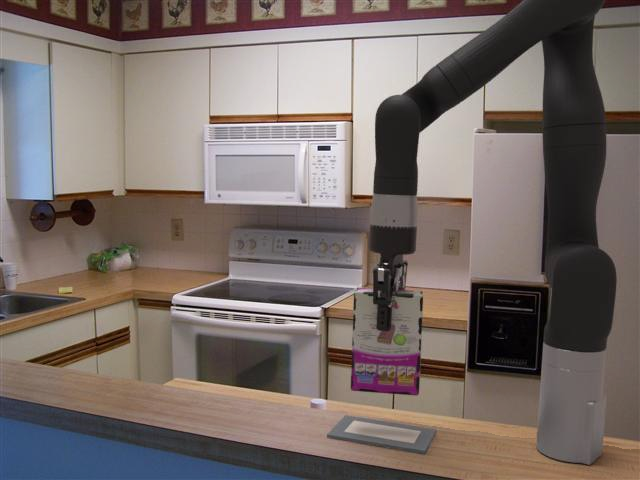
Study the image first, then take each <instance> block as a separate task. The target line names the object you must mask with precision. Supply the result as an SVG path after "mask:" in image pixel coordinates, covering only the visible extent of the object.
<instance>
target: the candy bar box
mask: <svg viewBox="0 0 640 480" xmlns="http://www.w3.org/2000/svg"><path fill="white" fill-rule="evenodd" d="M423 293H424V292H423V290H408V289H405V290H398V292H397V294H395V295H394V299H393V306H392V320H391V329H390V330H389V331H379V330H377V308H378V307H376V305H375V304H373V287H372V288H369V287H368V288H367V287H357V288H356V289H355V291H354V293H353V307H352V309H353V314H352V315H353V316H352V343H351V369H350V370H351V371H350V373H351V374H350V390H351V391H354V392H361V393H363V392H365V393H376V394H378V393H379V394H389V395H390V394H391V395H403V396H405V395H406V396H415V397H417V396H419V395H420V382H421V381H420V380H421V359H422V338H423V337H422V335H423V334H422V333H423V309H424V308H423V307H424V294H423ZM381 297H384V298H386V293H382V295H381Z"/></svg>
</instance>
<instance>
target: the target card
mask: <svg viewBox="0 0 640 480" xmlns="http://www.w3.org/2000/svg"><path fill="white" fill-rule="evenodd" d="M436 433H437V429H435V428H428V427H424V426H417V425H416V426H415V425H411V424H405V423H404V424H403V423H398V422H392V421H391V422H390V421H385V420H380V419H372V418H368V417H367V418H365V417H360V416H352V415H346V414H345V415H344V416H343V417H342V418H341V419H340V420H339V421H338V422H337V423H336V424H335V426H333V428H332V429H331V430H330V431H329V432H327V434H326V438H328V439H334V440H339V441H340V440H341V441H346V442H352V443H358V444H362V443H363V445H368V444H370V446H374V445H377V446H376V447H380V446H383V447H382V448H386V447H389V448H388V449H392V448H394V449H393V450H397V449H401V450H400V451H403V450H407V451H406V452H409V451H410V452H409V453H417V454H422V455H426V453H427V451H428V449H429V448H428V447H430V445H431V444H430V443H432V442H433V440H434V437H435V436H436Z"/></svg>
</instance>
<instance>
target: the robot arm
mask: <svg viewBox="0 0 640 480" xmlns="http://www.w3.org/2000/svg"><path fill="white" fill-rule="evenodd" d="M605 2H607V0H522V1H520V3H518V4H517V5H516V6H515V7H514V8H513V9H512V10H510V11H509V12H508V13H506V14H505V15H504V16H502V17H501V18H500V19H499V20H497V21H496V22H495V23H494V24H492V25H490V27H487V28H486V29H485V30H484V31H482V32H481V33H479V34H477V36H474V37H473V38H472V39H470V40H469V41H468V42H466V43H464V44H463V45H462V46H461V47H459V48H458V49H456V50H454V52H452V53H451V54H449V55H448V56H446V57H445V58H444V59H442V60H440V61H439V62H438V63H437V64H435V65H434V66H432V67H431V68H430V69H429V70H428V71H427V72H425V73H424V75H423V76H422V77H421V79H420V80H419V81H418V82H417V83H415V84H414V85H413V86H412V87H409V88H408V89H407V90H406V91H405V92H402V94H395V95H394V94H393V95H390V96H388V97H386V98H385V99H384V100H382V102H380V104H379V106H378V107H377V109H376V111H375V117H374V118H375V119H374V147H375V149H374V150H375V151H374V152H375V165H374V171H373V184H372V185H373V186H372V187H373V190H372V200H371V205H370V214H369V215H370V218H369V219H370V220H369V236H368V237H369V239H368V250H369V251H370V252H371V253H375V254H379V255H380V256H379V257H380V258H379V263H378V264H377V265H376V267H373V270H372V285H373V286H372V289H373V304H375V305H376V307H378V308H377V330H379V331H389V330H390V329H391V320H392V306H393V299H394V295H395V294H397V292H398V290H406V283H407V273H408V266H409V263H408V260H404V256H405V255H406V256H407V255H408V256H409V255H413V254H415V253H416V249H417V234H418V233H417V231H418V215H419V214H418V213H419V212H418V210H419V209H418V208H419V207H418V188H419V187H418V186H419V185H418V184H419V182H418V181H419V169H418V168H419V167H418V153H419V152H418V151H419V140H420V134H421V133H422V132H423V131H424V130H426V129H427V128H428V127H429V126H431V124H432V123H435V122H436V121H437V120H438V119H439V118H440V117H441V116H442V115H443V114H445V113H446V112H448V111H450V110H451V109H453V108H455V107H456V106H458V105H459V104H461V103H463V102H464V101H465V100H467V99H469V97H471V96H472V95H474V93H477V92H478V91H479V90H481V89H482V88H483V87H485V86H486V85H487V84H488V83H490V82H491V81H492V80H494V79H495V78H496V77H497V76H499V74H501V73H502V72H503V71H505V69H506V68H508V67H509V66H510V65H511V64H513V63H514V62H515V61H516V60H518V58H520V57H521V56H522V55H523V54H525V53H526V52H527V51H528V50H530V49H532V48H533V47H534V46H536V45H537V44H538V43H541V44H542V45H541V46H542V53H543V67H544V68H543V71H544V72H543V86H542V118H541V119H542V120H541V121H542V123H541V125H542V126H541V129H542V132H541V133H542V135H541V136H542V155H543V156H542V157H543V167H544V168H543V169H544V170H543V171H544V181H545V191H546V193H545V194H546V200H547V201H546V202H547V212H548V213H547V214H548V215H547V217H548V218H547V234H546V247H545V257H544V258H545V259H544V274H545V279H546V281H547V284H548V286H549V288H551V297H550V299H551V300H550V309H549V316H548V321H547V323H546V324H545V326H544V328H543V329H544V330H543V343H542V355H541V357H542V358H541V371H540V373H541V374H540V387H539V400H538V401H539V403H538V413H537V414H538V415H537V418H538V419H537V428H536V429H537V431H536V444H535V445H536V450H537V451H539V453H542V454H543V455H544V456H547V457H549V458H552V459H555V460H556V461H557V460H558V461H563V462H568V463H574V464H575V463H576V464H577V463H579V464H584V465H585V464H586V465H591V464H593V463H594V462H595V461H596V460H597V459H598V458H600V456H602V455H603V450H604V449H603V447H604V437H605V436H604V435H605V423H606V411H607V410H606V409H607V395H606V394H603V393H604V380H605V369H606V368H605V367H606V355H607V354H606V353H607V344H608V337H609V336H610V334H611V332H612V327H613V321H614V315H615V314H614V313H615V306H616V303H615V302H616V295H617V293H616V292H617V279H618V277H617V269H616V265H615V263H614V260H613V259H612V258H611V256H610V255H609V254H608V253H607V252H606V251H605V250H604V249H601V248H600V247H599V246H600V245H599V239H598V230H597V228H598V227H597V204H598V198H599V194H600V189H601V186H602V182H603V177H604V172H605V169H606V168H605V167H606V160H607V120H606V119H607V118H606V117H607V116H606V110H605V105H604V99H603V95H602V92H601V88H600V84H599V82H598V77H597V74H596V71H595V70H596V69H595V66H594V56H593V55H594V54H593V52H594V51H593V50H594V49H593V48H594V47H593V46H594V44H593V43H594V28H595V18H596V15H597V14H598V13H599V11H600V10H601V9H602V7H603V6H604V4H605ZM382 293H386V298H384V297H381V295H382Z"/></svg>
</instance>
